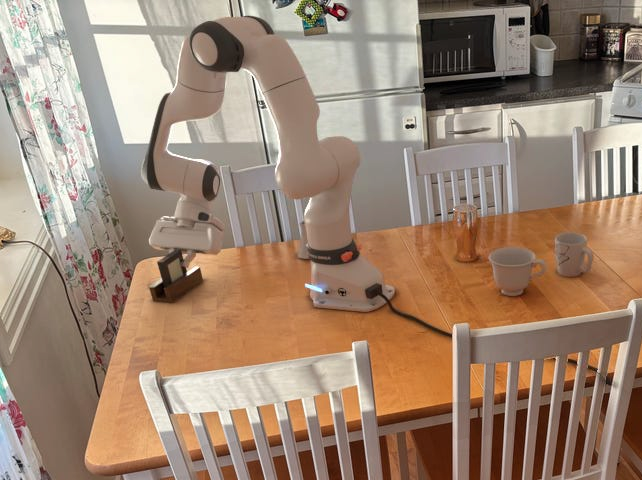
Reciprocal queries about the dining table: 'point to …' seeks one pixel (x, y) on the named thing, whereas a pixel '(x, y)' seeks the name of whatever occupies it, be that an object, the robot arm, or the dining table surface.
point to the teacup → (514, 269)
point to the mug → (572, 254)
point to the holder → (176, 286)
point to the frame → (171, 267)
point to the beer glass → (465, 231)
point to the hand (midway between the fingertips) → (178, 266)
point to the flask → (303, 242)
